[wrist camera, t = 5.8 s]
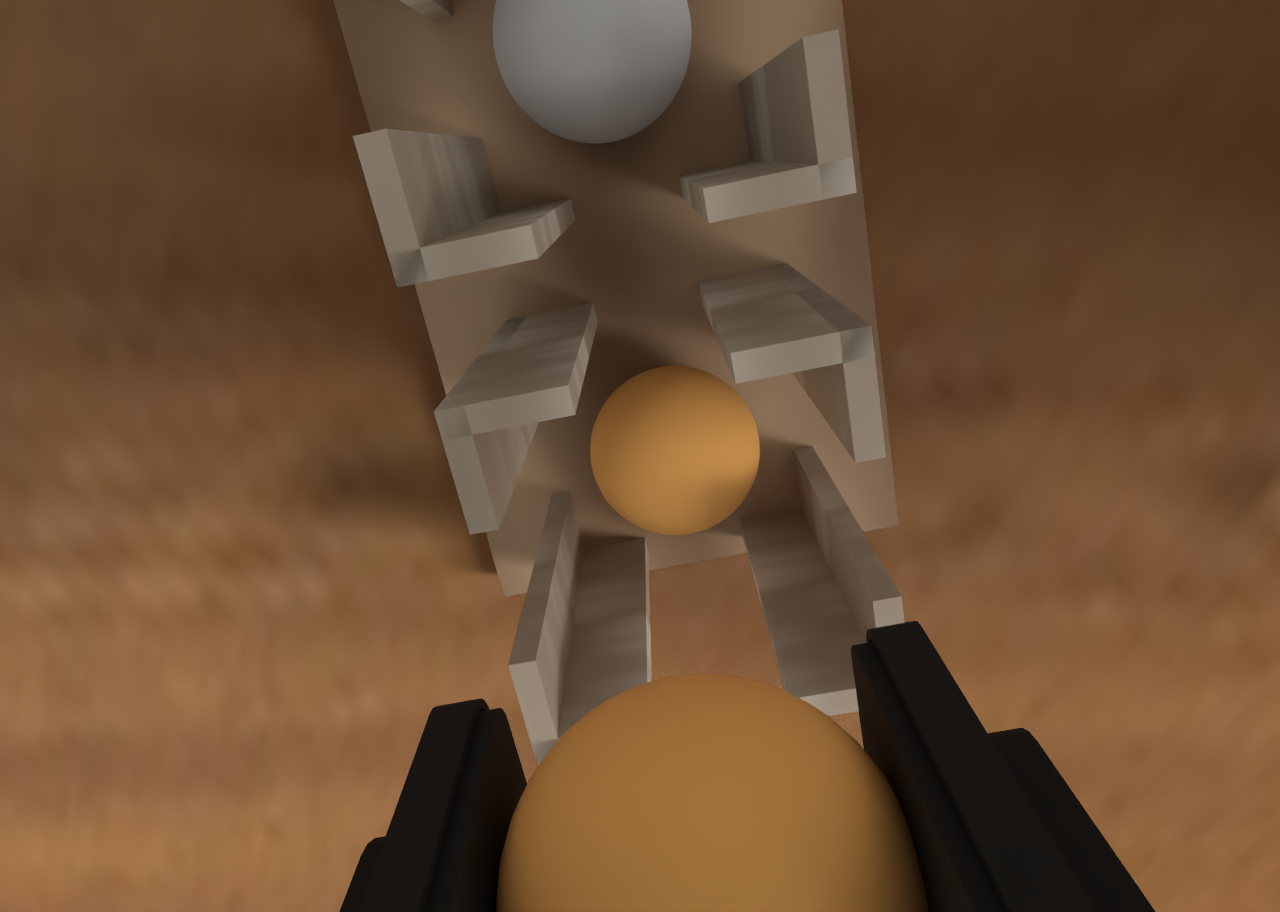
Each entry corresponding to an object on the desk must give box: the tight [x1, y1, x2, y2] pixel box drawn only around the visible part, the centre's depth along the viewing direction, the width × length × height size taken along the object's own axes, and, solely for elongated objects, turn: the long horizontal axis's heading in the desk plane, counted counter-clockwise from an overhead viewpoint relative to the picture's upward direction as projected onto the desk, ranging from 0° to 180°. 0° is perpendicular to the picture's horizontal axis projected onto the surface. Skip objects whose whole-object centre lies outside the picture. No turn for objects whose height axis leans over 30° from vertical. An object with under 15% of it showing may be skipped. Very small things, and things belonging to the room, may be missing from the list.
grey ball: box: [492, 0, 692, 143], centre depth 17 cm, size 4×4×4 cm
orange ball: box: [496, 674, 928, 912], centre depth 8 cm, size 4×4×4 cm
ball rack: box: [333, 0, 904, 765], centre depth 17 cm, size 11×17×9 cm, turn 11°
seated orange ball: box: [590, 366, 760, 535], centre depth 20 cm, size 4×4×4 cm
